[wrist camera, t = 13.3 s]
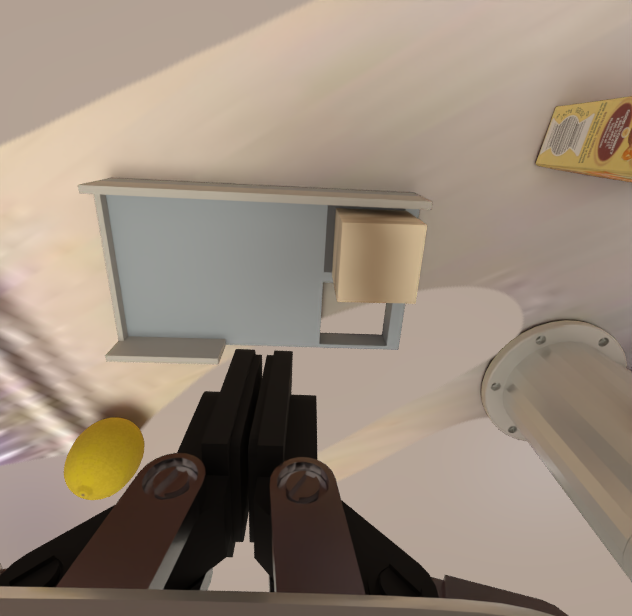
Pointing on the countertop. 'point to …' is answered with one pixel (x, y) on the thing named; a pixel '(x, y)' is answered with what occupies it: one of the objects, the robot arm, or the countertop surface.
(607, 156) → the candy box
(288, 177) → the countertop surface
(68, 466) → the lemon
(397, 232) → the block
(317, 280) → the pale blue tray
